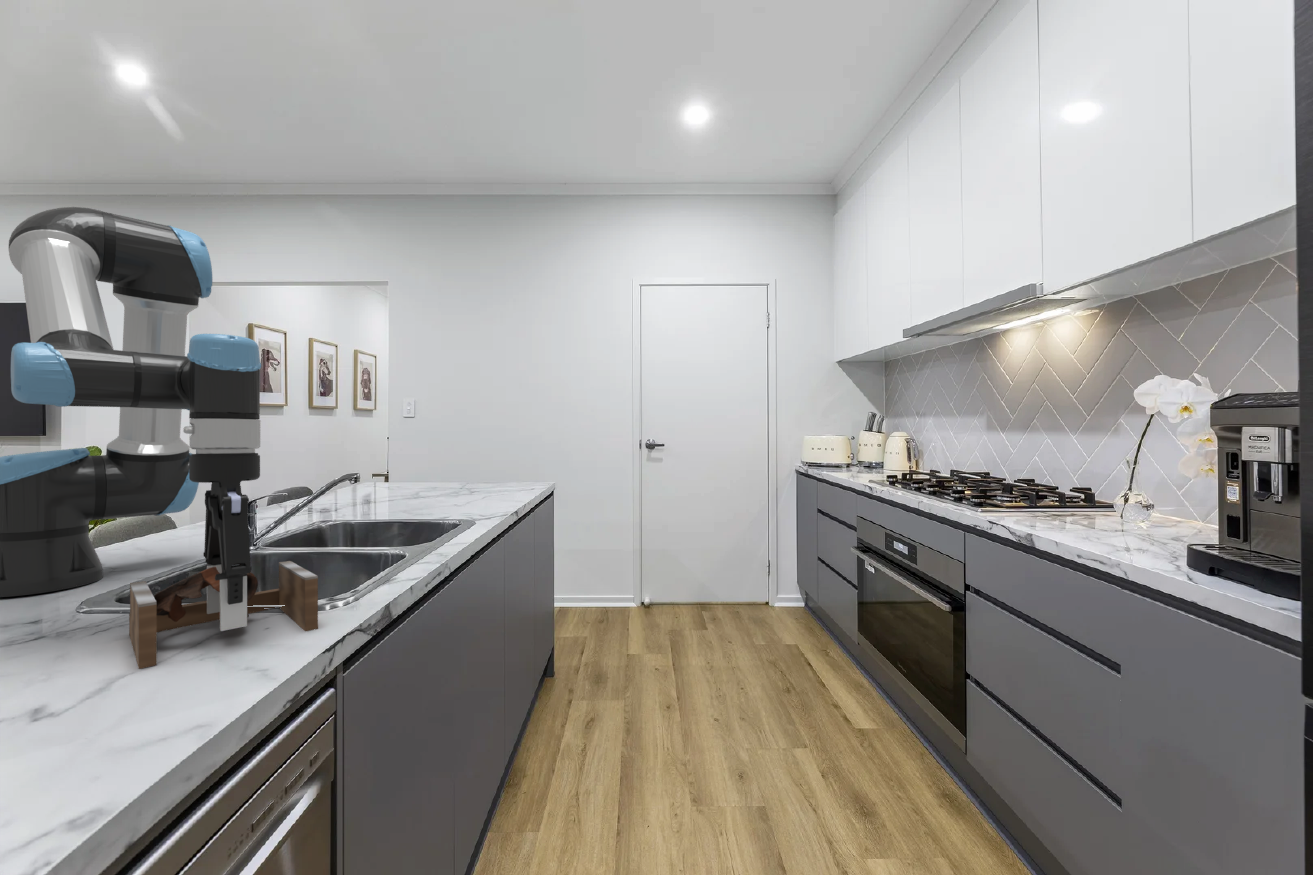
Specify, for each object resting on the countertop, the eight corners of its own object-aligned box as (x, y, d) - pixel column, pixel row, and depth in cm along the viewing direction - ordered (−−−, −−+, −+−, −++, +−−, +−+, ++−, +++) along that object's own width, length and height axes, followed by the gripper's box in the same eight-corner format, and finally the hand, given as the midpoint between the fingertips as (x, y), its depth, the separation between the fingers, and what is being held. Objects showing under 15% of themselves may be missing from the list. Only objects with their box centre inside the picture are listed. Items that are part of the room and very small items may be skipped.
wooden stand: (129, 635, 74) (129, 580, 74) (287, 606, 87) (287, 559, 87) (138, 668, 63) (138, 604, 63) (317, 629, 76) (317, 575, 76)
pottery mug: (212, 638, 68) (175, 580, 67) (158, 666, 70) (122, 610, 69) (288, 594, 80) (258, 545, 79) (241, 619, 82) (210, 571, 81)
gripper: (178, 450, 80) (178, 608, 80) (203, 453, 64) (203, 647, 64) (242, 450, 85) (243, 597, 85) (279, 452, 70) (280, 631, 70)
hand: (226, 619), depth 75 cm, fingers closed on pottery mug, 9 cm apart
